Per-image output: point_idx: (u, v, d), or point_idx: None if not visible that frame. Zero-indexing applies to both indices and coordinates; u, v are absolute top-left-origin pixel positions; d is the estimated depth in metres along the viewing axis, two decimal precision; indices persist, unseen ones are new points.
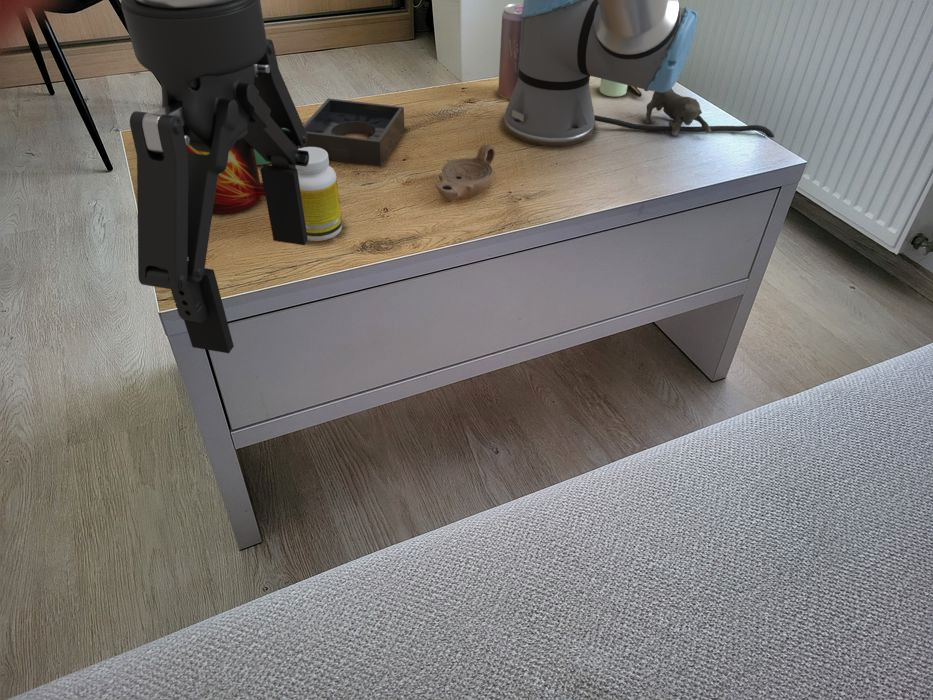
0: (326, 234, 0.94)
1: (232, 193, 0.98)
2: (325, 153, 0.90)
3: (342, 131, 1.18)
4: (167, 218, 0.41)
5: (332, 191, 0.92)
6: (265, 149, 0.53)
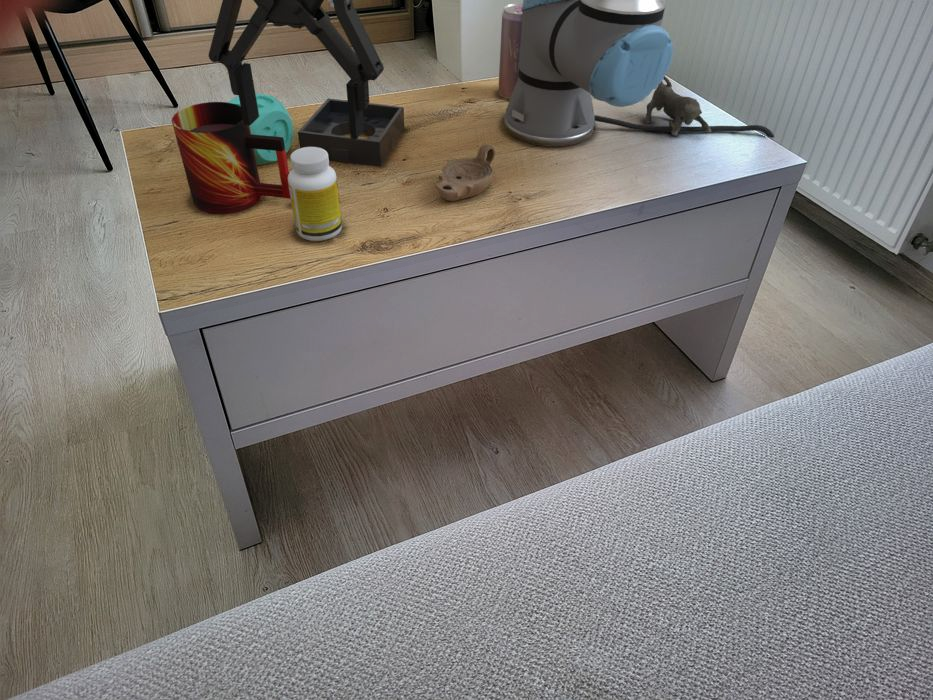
0: (326, 234, 0.94)
1: (232, 193, 0.98)
2: (325, 153, 0.90)
3: (342, 131, 1.18)
4: (366, 35, 0.79)
5: (333, 191, 0.92)
6: (247, 50, 0.82)
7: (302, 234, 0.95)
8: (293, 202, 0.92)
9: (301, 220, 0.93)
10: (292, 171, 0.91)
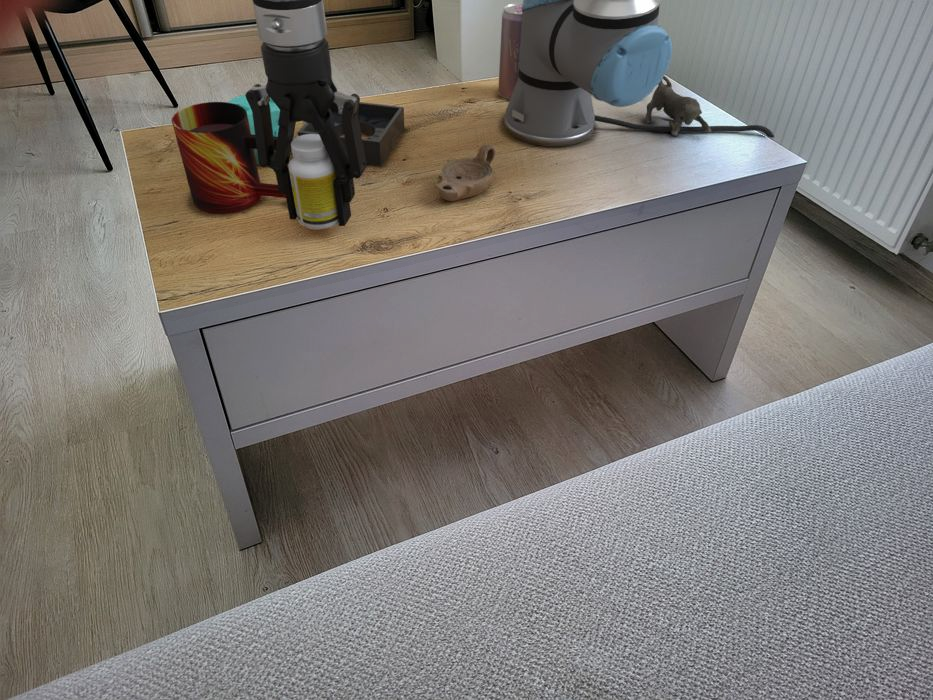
0: (328, 222, 0.94)
1: (232, 193, 0.98)
2: None
3: (342, 131, 1.18)
4: (360, 140, 0.88)
5: (334, 179, 0.91)
6: (287, 151, 0.90)
7: (304, 223, 0.94)
8: (294, 190, 0.91)
9: (302, 208, 0.92)
10: (293, 159, 0.90)
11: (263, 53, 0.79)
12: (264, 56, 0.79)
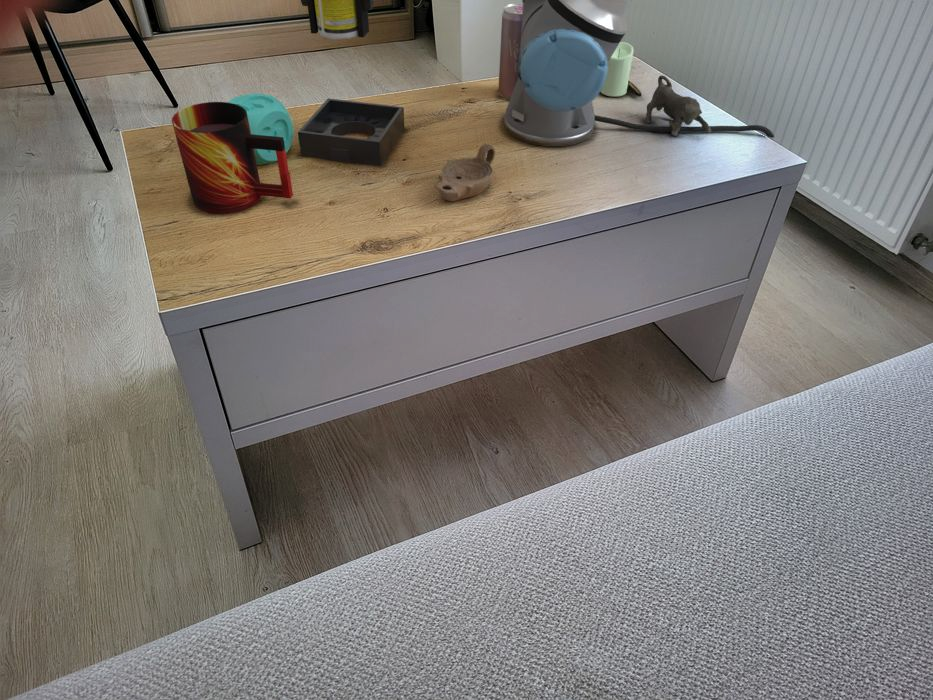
0: (348, 32, 0.99)
1: (232, 193, 0.98)
2: None
3: (342, 131, 1.18)
4: None
5: None
6: None
7: (325, 32, 0.99)
8: None
9: (324, 16, 0.97)
10: None
11: None
12: None
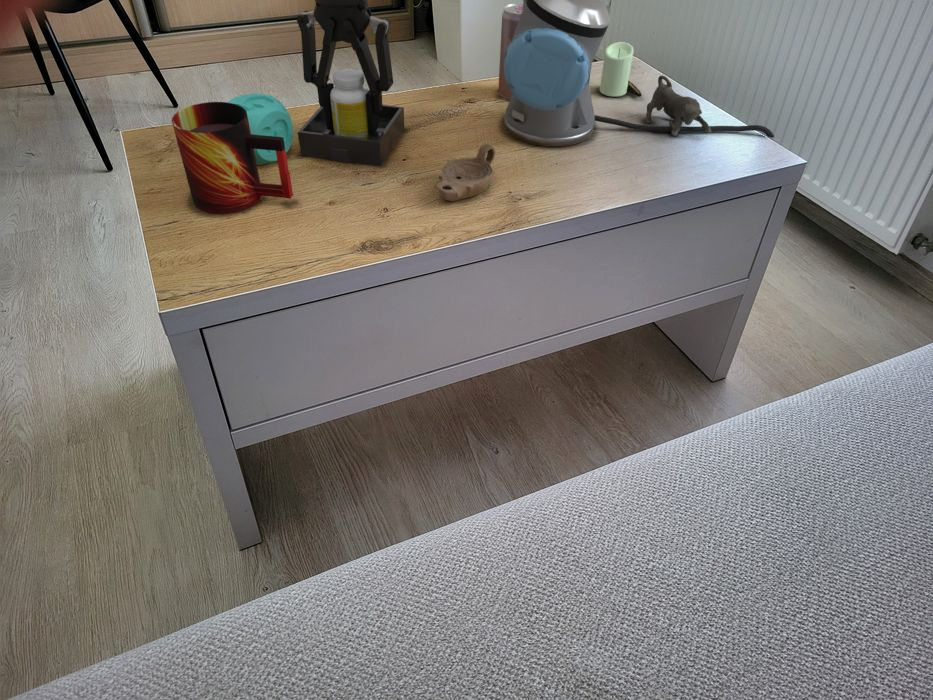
0: None
1: (232, 193, 0.98)
2: (361, 73, 1.10)
3: None
4: (389, 58, 1.07)
5: None
6: (328, 69, 1.09)
7: None
8: (334, 115, 1.12)
9: (340, 131, 1.13)
10: (334, 89, 1.10)
11: None
12: None
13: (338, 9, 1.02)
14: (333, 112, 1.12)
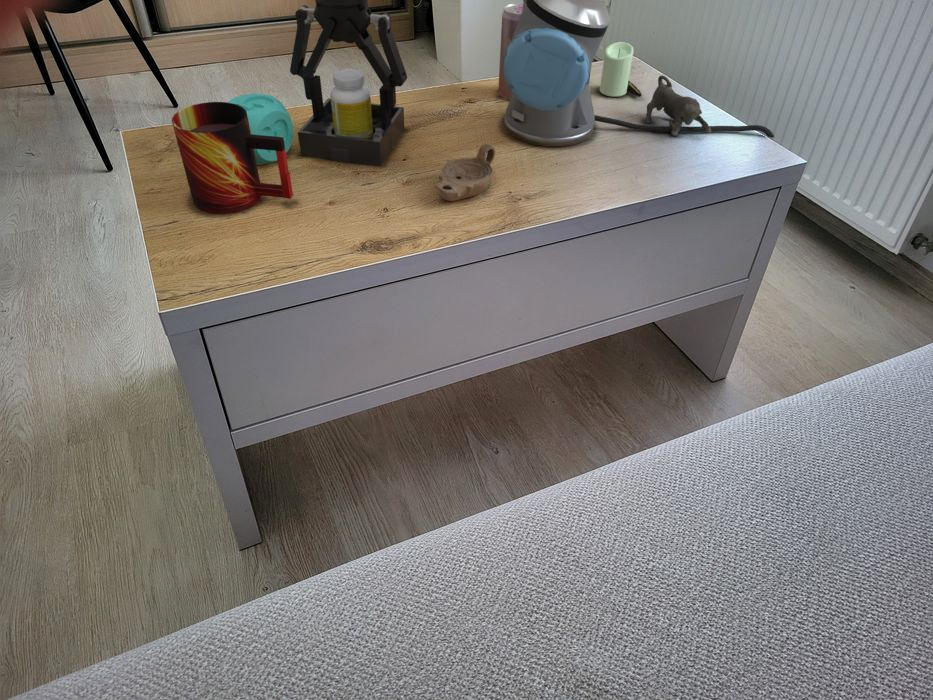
0: None
1: (232, 193, 0.98)
2: (361, 73, 1.10)
3: None
4: (397, 53, 1.06)
5: (367, 106, 1.11)
6: (317, 64, 1.09)
7: None
8: (334, 115, 1.12)
9: (340, 131, 1.13)
10: (334, 89, 1.10)
11: None
12: None
13: (338, 9, 1.02)
14: (333, 112, 1.12)
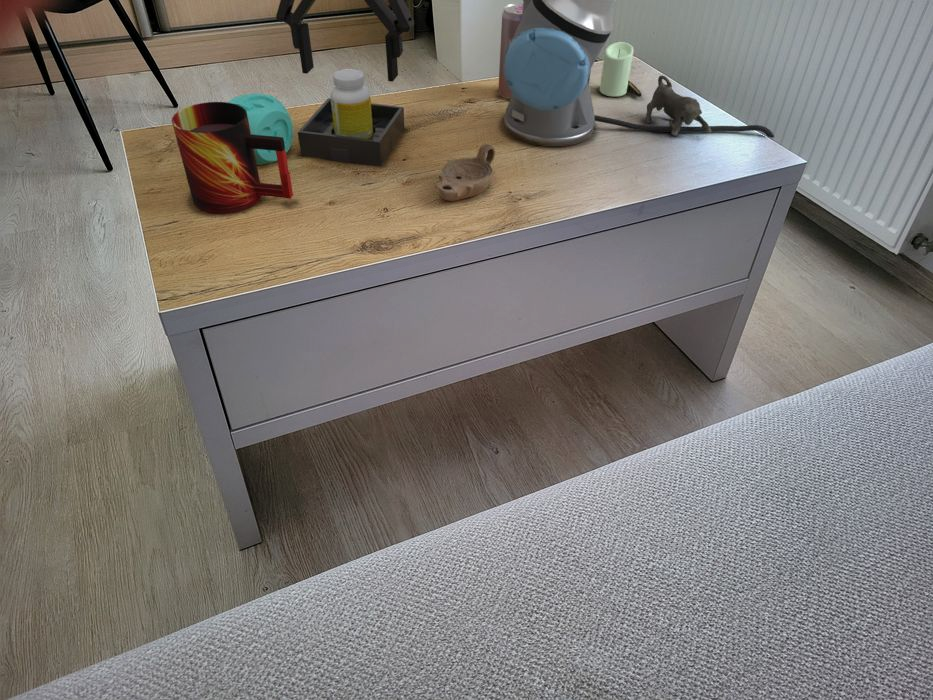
0: None
1: (232, 193, 0.98)
2: (361, 73, 1.10)
3: None
4: None
5: (367, 106, 1.11)
6: (306, 11, 1.04)
7: None
8: (334, 115, 1.12)
9: (340, 131, 1.13)
10: (334, 89, 1.10)
11: None
12: None
13: None
14: (333, 112, 1.12)
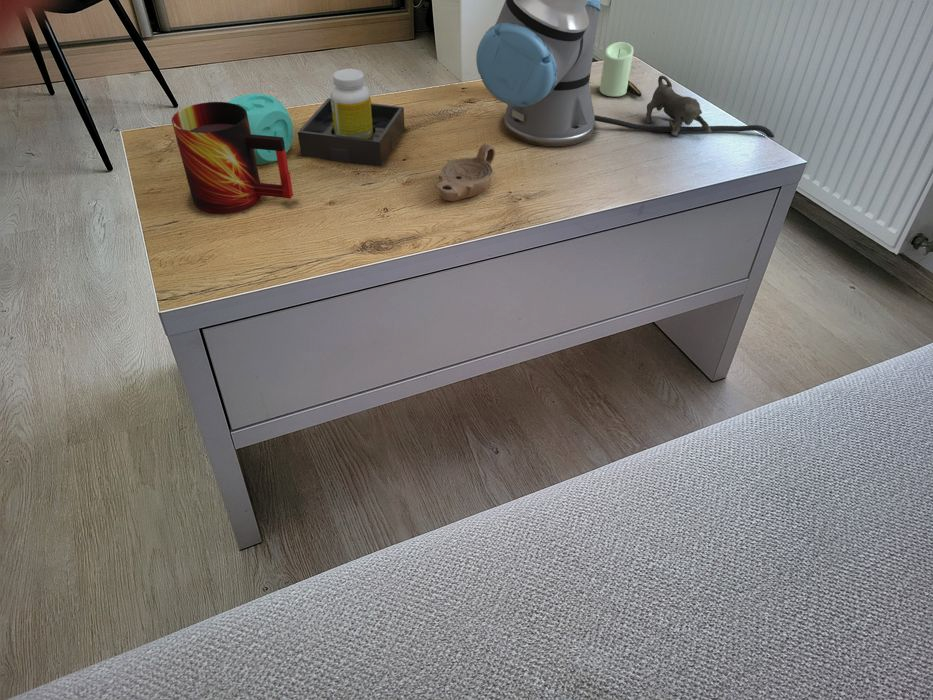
0: None
1: (232, 193, 0.98)
2: (361, 73, 1.10)
3: None
4: None
5: (367, 106, 1.11)
6: None
7: None
8: (334, 115, 1.12)
9: (340, 131, 1.13)
10: (334, 89, 1.10)
11: None
12: None
13: None
14: (333, 112, 1.12)
